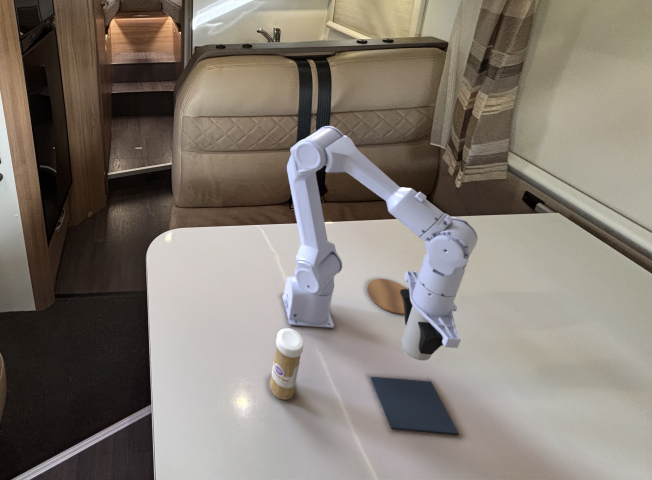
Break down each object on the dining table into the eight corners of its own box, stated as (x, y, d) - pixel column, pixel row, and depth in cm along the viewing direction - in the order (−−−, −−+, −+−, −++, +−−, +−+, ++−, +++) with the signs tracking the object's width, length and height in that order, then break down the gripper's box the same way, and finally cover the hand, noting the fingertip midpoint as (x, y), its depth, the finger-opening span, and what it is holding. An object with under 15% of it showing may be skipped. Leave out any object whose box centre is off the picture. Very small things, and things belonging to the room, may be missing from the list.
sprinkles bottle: (265, 390, 80) (272, 339, 75) (275, 371, 83) (283, 322, 78) (288, 406, 77) (298, 355, 72) (298, 387, 81) (308, 336, 76)
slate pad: (391, 429, 74) (391, 427, 74) (370, 378, 82) (371, 376, 82) (458, 435, 73) (459, 433, 73) (430, 383, 81) (431, 381, 81)
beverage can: (434, 364, 77) (452, 316, 72) (405, 359, 78) (421, 311, 73) (424, 341, 81) (440, 294, 77) (396, 336, 82) (411, 290, 78)
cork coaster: (377, 313, 96) (377, 311, 96) (360, 278, 105) (361, 277, 105) (424, 316, 95) (424, 314, 95) (403, 281, 104) (403, 280, 104)
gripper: (489, 321, 66) (464, 380, 71) (439, 254, 80) (421, 307, 85) (441, 318, 67) (420, 376, 72) (399, 252, 80) (384, 304, 85)
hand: (418, 338), depth 78 cm, fingers closed on beverage can, 5 cm apart
